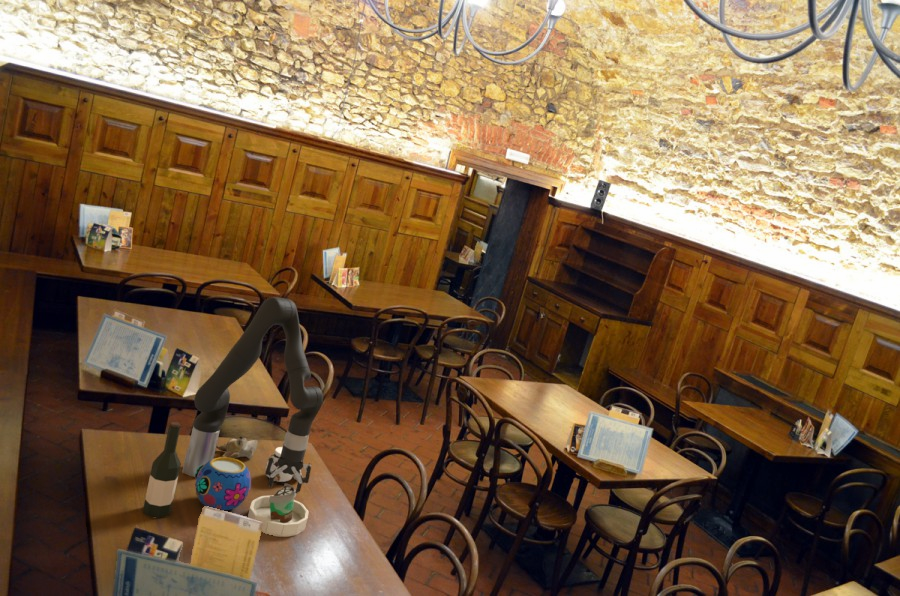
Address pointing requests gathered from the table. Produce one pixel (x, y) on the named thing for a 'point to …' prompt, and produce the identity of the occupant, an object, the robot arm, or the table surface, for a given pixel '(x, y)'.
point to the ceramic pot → (222, 483)
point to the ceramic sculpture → (238, 448)
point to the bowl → (291, 528)
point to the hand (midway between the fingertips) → (283, 489)
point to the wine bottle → (163, 477)
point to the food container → (282, 504)
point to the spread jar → (280, 477)
